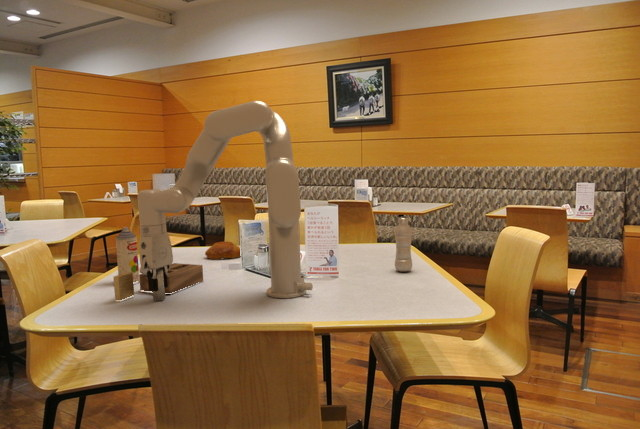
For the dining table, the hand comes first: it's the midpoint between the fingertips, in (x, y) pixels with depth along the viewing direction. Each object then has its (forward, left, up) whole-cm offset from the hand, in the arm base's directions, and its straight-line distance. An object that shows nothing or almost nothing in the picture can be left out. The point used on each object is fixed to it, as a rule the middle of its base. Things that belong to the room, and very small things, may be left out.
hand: (158, 288), depth 153 cm
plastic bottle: (-64, -58, -4) cm, 86 cm away
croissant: (+18, -64, -4) cm, 67 cm away
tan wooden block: (+11, +2, -4) cm, 12 cm away
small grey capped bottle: (0, 0, -3) cm, 3 cm away
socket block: (+6, -15, -4) cm, 17 cm away
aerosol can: (+25, -15, -4) cm, 30 cm away
